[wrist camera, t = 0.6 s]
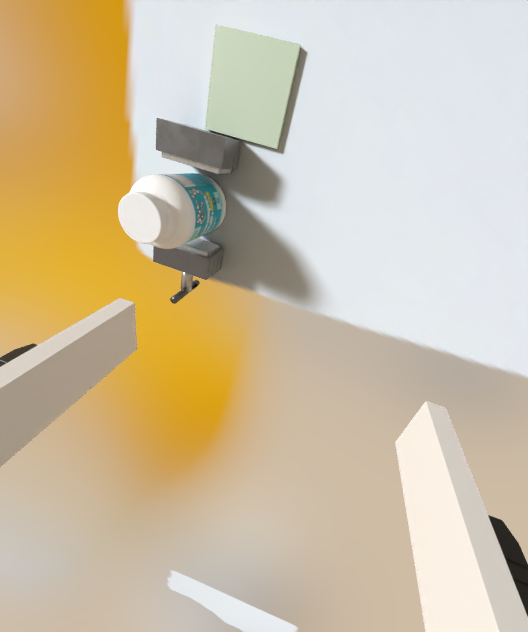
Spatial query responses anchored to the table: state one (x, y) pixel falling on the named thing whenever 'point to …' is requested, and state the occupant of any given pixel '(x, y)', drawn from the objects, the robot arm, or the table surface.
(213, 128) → the pad
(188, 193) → the pill bottle
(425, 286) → the table surface
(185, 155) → the vise
